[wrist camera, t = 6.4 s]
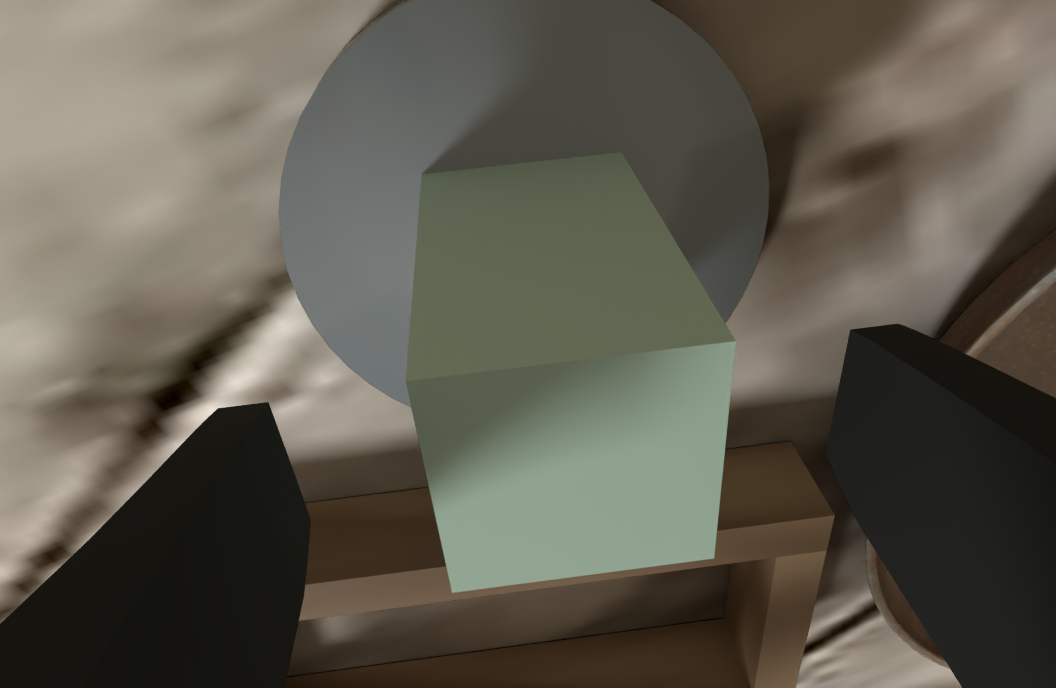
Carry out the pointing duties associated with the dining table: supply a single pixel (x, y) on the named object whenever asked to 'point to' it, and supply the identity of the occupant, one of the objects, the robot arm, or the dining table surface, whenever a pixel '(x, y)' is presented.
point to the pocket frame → (597, 661)
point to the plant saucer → (1009, 346)
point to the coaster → (508, 147)
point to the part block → (563, 375)
